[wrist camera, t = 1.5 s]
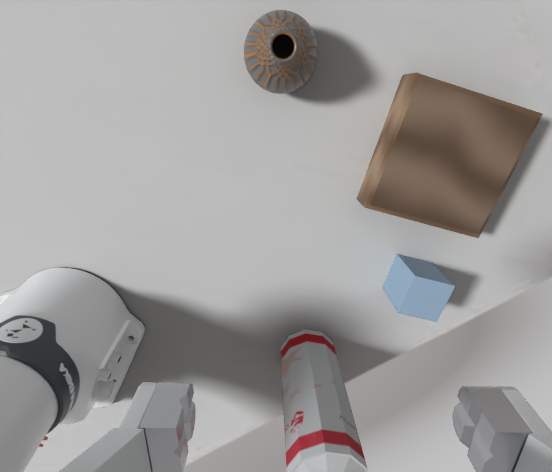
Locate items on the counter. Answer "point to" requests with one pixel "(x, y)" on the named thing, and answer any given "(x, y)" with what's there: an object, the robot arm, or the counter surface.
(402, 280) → the slate block
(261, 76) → the vase
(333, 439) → the nozzle bottle
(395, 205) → the walnut plinth
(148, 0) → the counter surface
